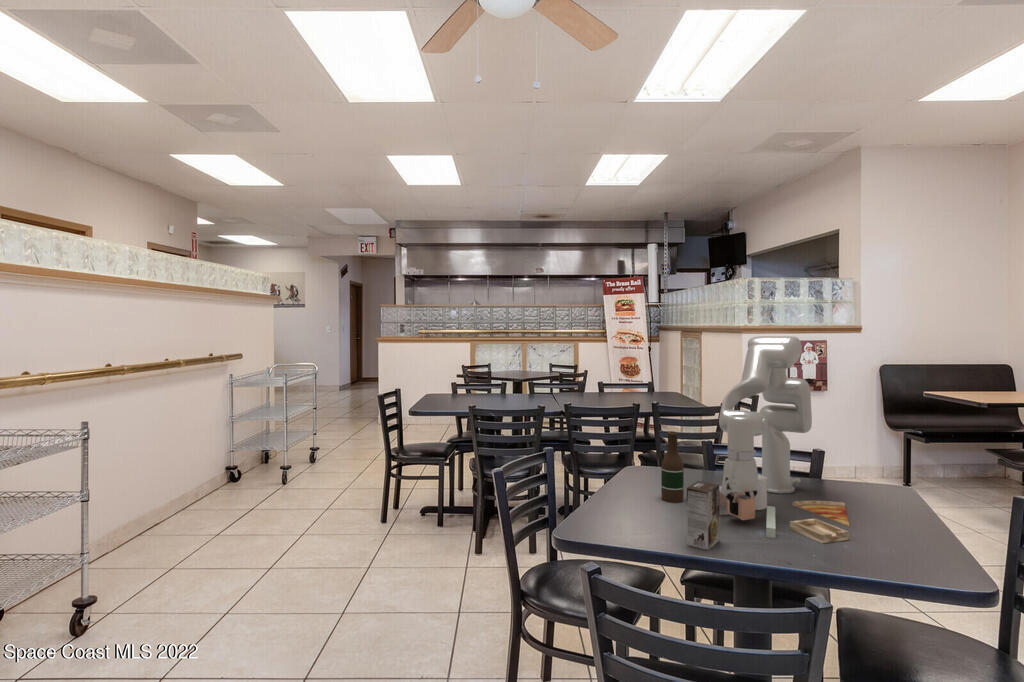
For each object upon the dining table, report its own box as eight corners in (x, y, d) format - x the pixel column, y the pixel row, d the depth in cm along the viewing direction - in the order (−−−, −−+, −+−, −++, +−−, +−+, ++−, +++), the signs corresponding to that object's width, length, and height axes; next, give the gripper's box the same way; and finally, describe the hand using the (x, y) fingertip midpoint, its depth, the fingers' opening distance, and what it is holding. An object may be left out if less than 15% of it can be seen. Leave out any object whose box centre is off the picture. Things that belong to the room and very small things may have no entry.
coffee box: (698, 535, 161) (697, 480, 161) (720, 540, 157) (720, 484, 157) (685, 545, 154) (685, 487, 154) (708, 550, 150) (708, 491, 150)
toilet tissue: (762, 512, 181) (762, 482, 181) (725, 505, 188) (725, 476, 188) (770, 504, 190) (770, 475, 190) (733, 498, 197) (734, 470, 197)
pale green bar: (766, 514, 179) (766, 505, 179) (775, 515, 178) (775, 506, 178) (766, 537, 159) (766, 527, 159) (775, 538, 158) (775, 528, 158)
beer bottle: (686, 502, 192) (686, 433, 192) (664, 502, 192) (664, 434, 192) (680, 496, 200) (680, 430, 199) (658, 496, 200) (658, 430, 200)
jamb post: (721, 509, 185) (721, 485, 184) (731, 514, 180) (731, 489, 180) (708, 510, 183) (708, 486, 183) (718, 515, 178) (718, 490, 178)
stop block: (739, 511, 176) (739, 490, 176) (755, 518, 170) (754, 497, 169) (727, 512, 175) (727, 492, 175) (742, 520, 168) (742, 498, 168)
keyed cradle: (815, 525, 168) (815, 518, 168) (848, 539, 157) (848, 531, 157) (789, 529, 166) (789, 521, 166) (822, 543, 154) (822, 535, 154)
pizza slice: (791, 520, 175) (791, 514, 175) (792, 501, 194) (792, 495, 194) (849, 528, 168) (849, 522, 167) (844, 507, 187) (844, 502, 187)
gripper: (755, 450, 178) (755, 506, 178) (709, 454, 173) (710, 512, 174) (772, 455, 170) (772, 513, 171) (725, 460, 166) (725, 520, 166)
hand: (741, 512), depth 172 cm, fingers closed on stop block, 4 cm apart
